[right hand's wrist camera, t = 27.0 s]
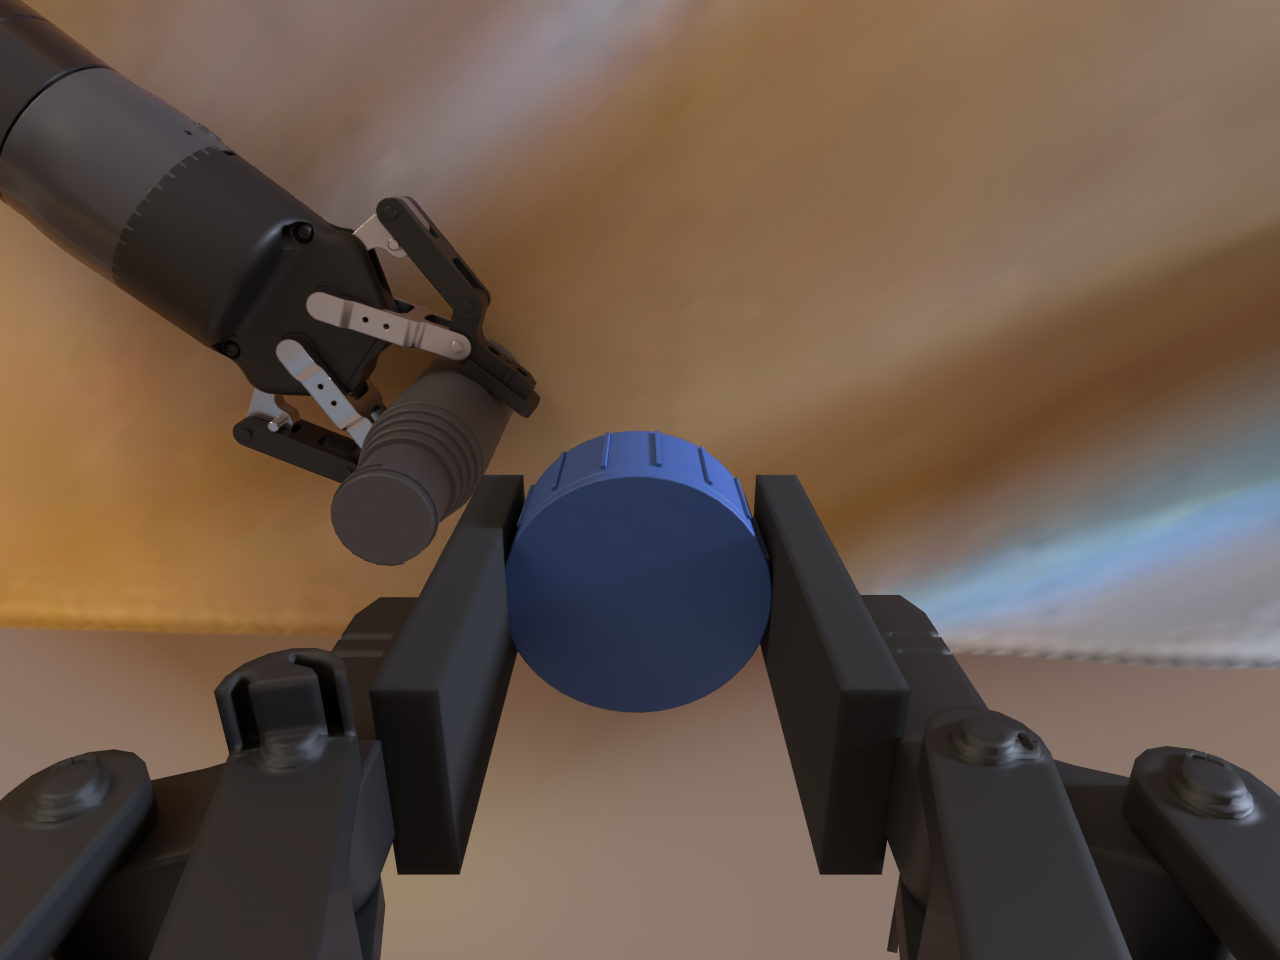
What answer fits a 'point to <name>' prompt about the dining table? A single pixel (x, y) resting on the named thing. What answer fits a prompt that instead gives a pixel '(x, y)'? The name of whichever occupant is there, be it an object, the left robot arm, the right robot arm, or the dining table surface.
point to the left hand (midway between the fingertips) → (500, 448)
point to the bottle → (419, 464)
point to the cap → (637, 574)
